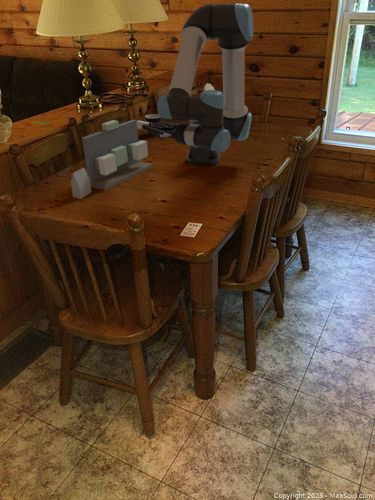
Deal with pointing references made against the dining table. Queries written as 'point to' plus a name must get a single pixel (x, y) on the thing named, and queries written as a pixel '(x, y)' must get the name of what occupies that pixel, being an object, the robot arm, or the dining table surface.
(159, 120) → the coffee mug
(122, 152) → the key middle
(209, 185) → the dining table surface
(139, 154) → the key
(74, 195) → the grey upright block
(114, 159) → the key
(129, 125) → the grey upright panel
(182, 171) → the dining table surface
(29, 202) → the dining table surface
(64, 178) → the dining table surface
